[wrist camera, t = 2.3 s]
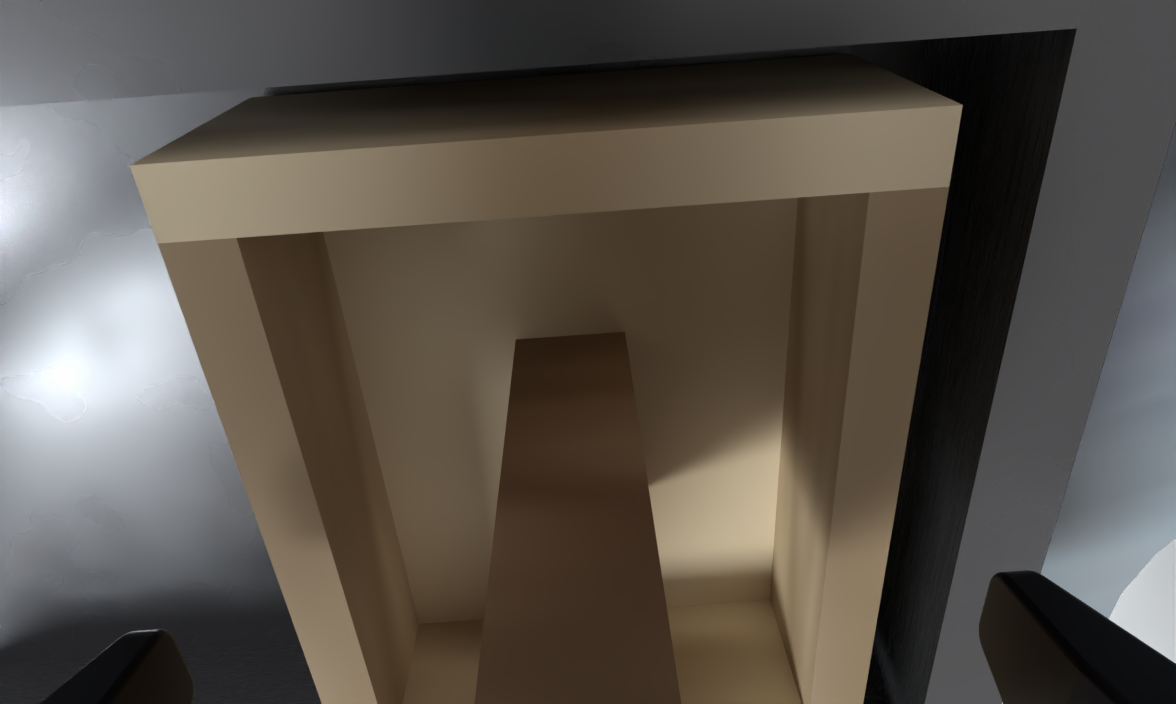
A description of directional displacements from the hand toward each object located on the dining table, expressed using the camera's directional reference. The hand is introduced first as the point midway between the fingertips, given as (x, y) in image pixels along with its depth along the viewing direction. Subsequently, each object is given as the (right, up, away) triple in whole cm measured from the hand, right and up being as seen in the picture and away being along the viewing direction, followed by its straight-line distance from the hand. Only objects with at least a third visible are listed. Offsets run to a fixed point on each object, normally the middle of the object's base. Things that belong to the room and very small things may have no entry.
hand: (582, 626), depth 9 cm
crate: (0, +2, +4) cm, 5 cm away
